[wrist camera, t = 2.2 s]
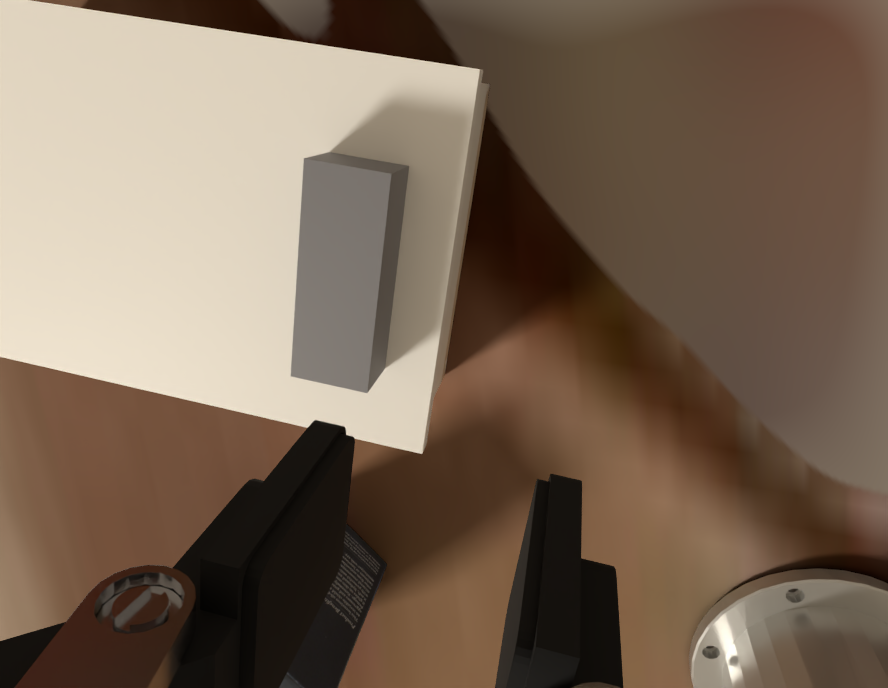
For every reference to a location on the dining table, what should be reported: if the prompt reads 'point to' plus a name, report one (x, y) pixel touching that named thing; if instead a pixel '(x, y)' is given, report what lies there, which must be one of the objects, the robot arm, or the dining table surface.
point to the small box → (338, 618)
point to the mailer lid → (230, 215)
